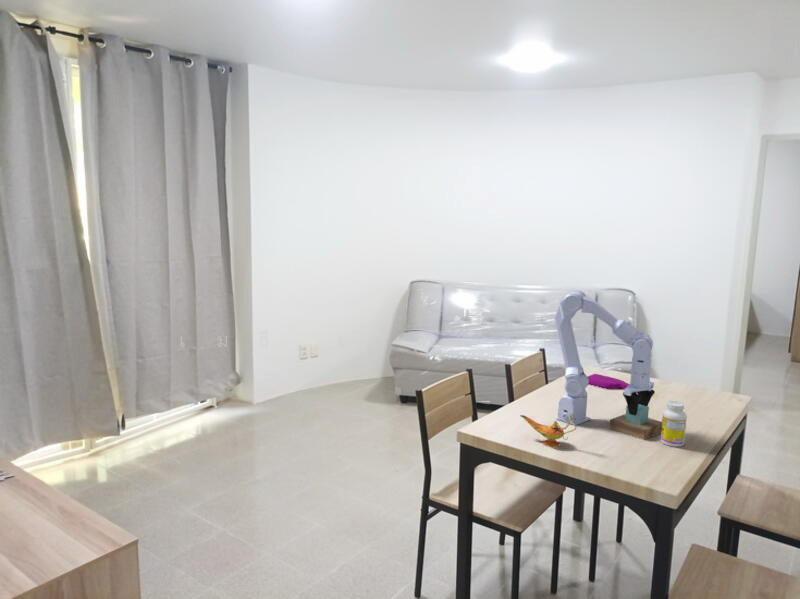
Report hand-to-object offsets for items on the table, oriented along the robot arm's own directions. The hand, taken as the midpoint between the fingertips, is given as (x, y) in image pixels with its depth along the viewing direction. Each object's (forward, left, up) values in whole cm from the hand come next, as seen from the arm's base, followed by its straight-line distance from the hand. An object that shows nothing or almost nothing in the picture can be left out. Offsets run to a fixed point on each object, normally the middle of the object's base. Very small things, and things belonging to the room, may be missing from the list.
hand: (637, 412), depth 185 cm
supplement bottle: (-1, -13, -6) cm, 14 cm away
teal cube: (0, 0, -3) cm, 3 cm away
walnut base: (0, 0, -6) cm, 6 cm away
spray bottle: (+37, +30, -6) cm, 48 cm away
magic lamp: (-32, +11, -6) cm, 35 cm away
